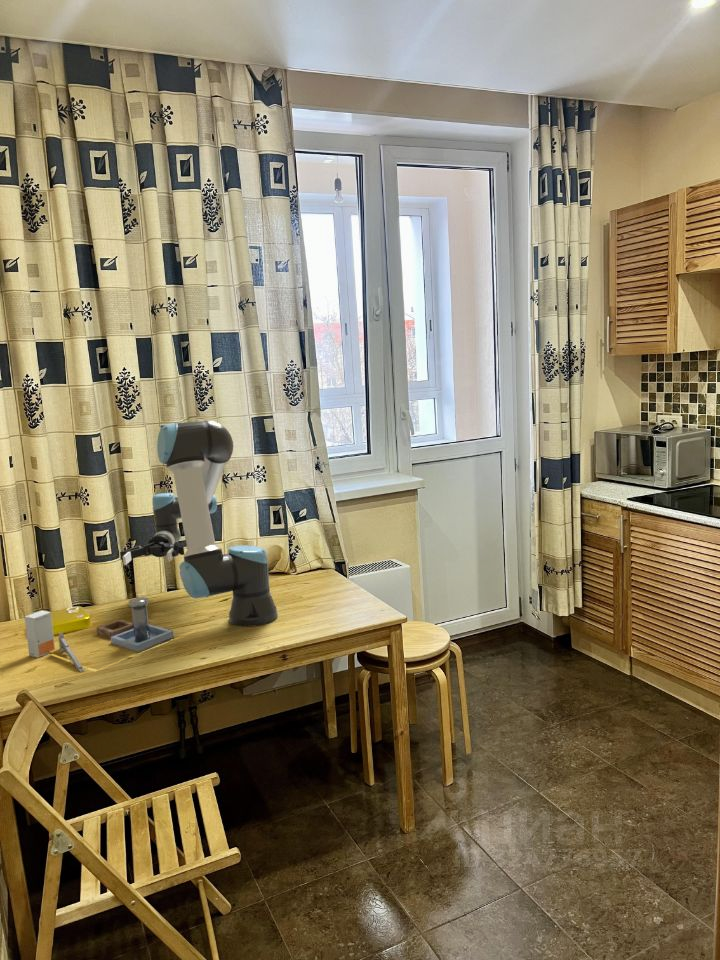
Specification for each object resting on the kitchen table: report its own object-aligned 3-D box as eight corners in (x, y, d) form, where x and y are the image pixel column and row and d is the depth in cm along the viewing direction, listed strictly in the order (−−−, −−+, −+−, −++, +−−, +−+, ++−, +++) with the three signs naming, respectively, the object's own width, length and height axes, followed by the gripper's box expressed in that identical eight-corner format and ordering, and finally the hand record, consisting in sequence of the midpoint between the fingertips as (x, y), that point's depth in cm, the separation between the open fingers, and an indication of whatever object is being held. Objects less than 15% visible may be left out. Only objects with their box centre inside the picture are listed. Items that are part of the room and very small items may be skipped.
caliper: (59, 652, 217) (57, 631, 216) (63, 651, 218) (61, 630, 217) (80, 673, 201) (77, 651, 200) (84, 672, 202) (81, 650, 201)
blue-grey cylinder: (156, 638, 221) (152, 599, 219) (140, 644, 217) (136, 604, 215) (144, 634, 225) (140, 596, 223) (129, 641, 220) (124, 601, 218)
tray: (173, 638, 222) (173, 631, 221) (137, 653, 212) (136, 645, 212) (147, 630, 230) (146, 623, 229) (111, 644, 220) (110, 637, 219)
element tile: (34, 628, 239) (32, 614, 239) (82, 617, 247) (80, 603, 246) (42, 641, 227) (40, 626, 226) (92, 629, 235) (91, 615, 234)
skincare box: (38, 658, 213) (32, 618, 211) (28, 656, 215) (23, 616, 213) (56, 650, 218) (51, 611, 216) (47, 648, 220) (42, 609, 218)
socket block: (136, 631, 229) (136, 623, 229) (113, 640, 223) (112, 632, 223) (120, 626, 235) (119, 619, 234) (97, 635, 228) (96, 627, 228)
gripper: (199, 551, 252) (188, 567, 231) (125, 557, 251) (107, 574, 230) (197, 530, 251) (185, 543, 230) (122, 536, 250) (104, 550, 229)
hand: (146, 559), depth 230 cm, fingers open, 13 cm apart
